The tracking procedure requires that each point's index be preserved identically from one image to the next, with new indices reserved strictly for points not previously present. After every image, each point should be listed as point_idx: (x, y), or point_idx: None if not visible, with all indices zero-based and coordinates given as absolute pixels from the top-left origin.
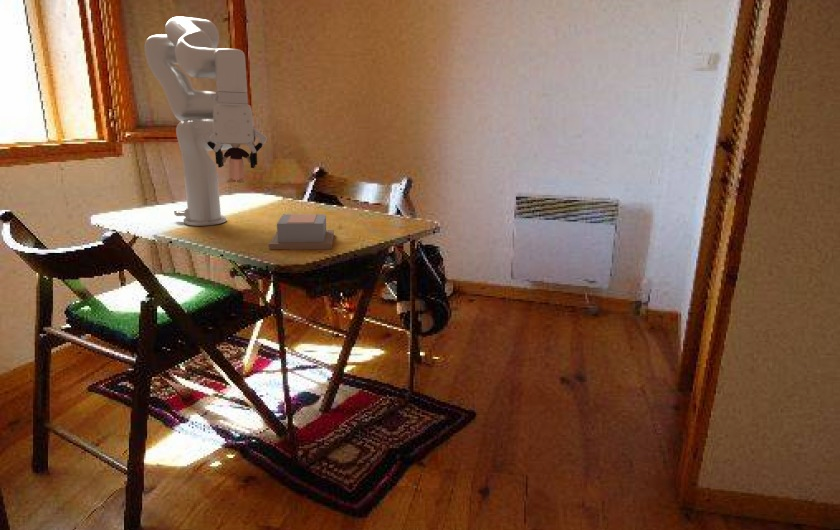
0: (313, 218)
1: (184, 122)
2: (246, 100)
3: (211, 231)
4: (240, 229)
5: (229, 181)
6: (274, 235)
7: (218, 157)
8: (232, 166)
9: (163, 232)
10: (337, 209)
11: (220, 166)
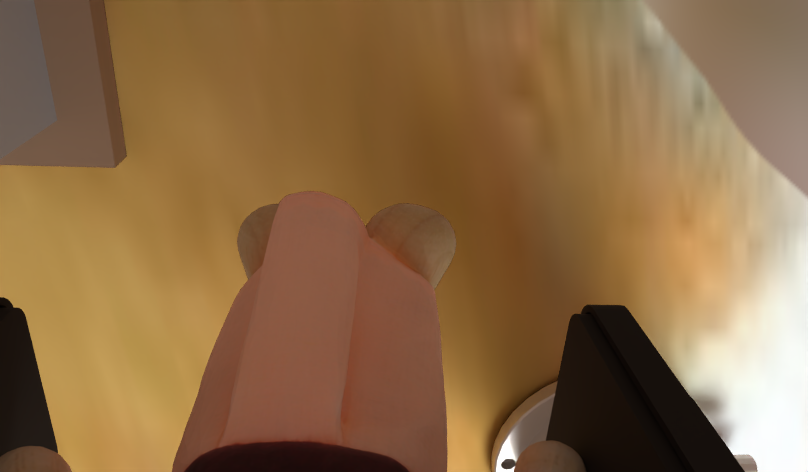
0: None
1: None
2: None
3: (543, 262)
4: None
5: (421, 211)
6: (89, 6)
7: (686, 422)
8: (384, 372)
9: (791, 247)
10: None
11: (586, 314)
